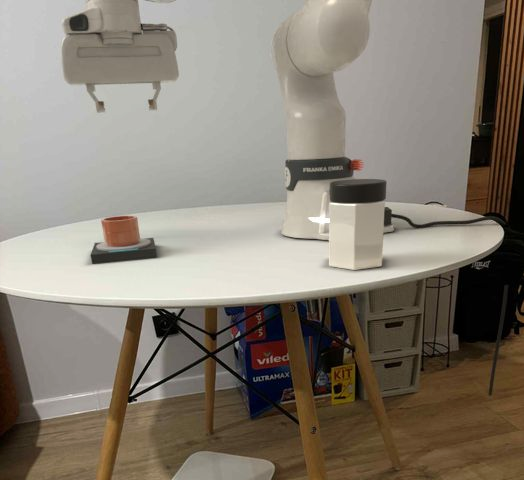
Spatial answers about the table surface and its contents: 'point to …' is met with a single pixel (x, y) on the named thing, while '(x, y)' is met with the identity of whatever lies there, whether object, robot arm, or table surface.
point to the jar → (356, 223)
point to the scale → (123, 251)
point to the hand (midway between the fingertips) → (127, 111)
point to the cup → (120, 231)
